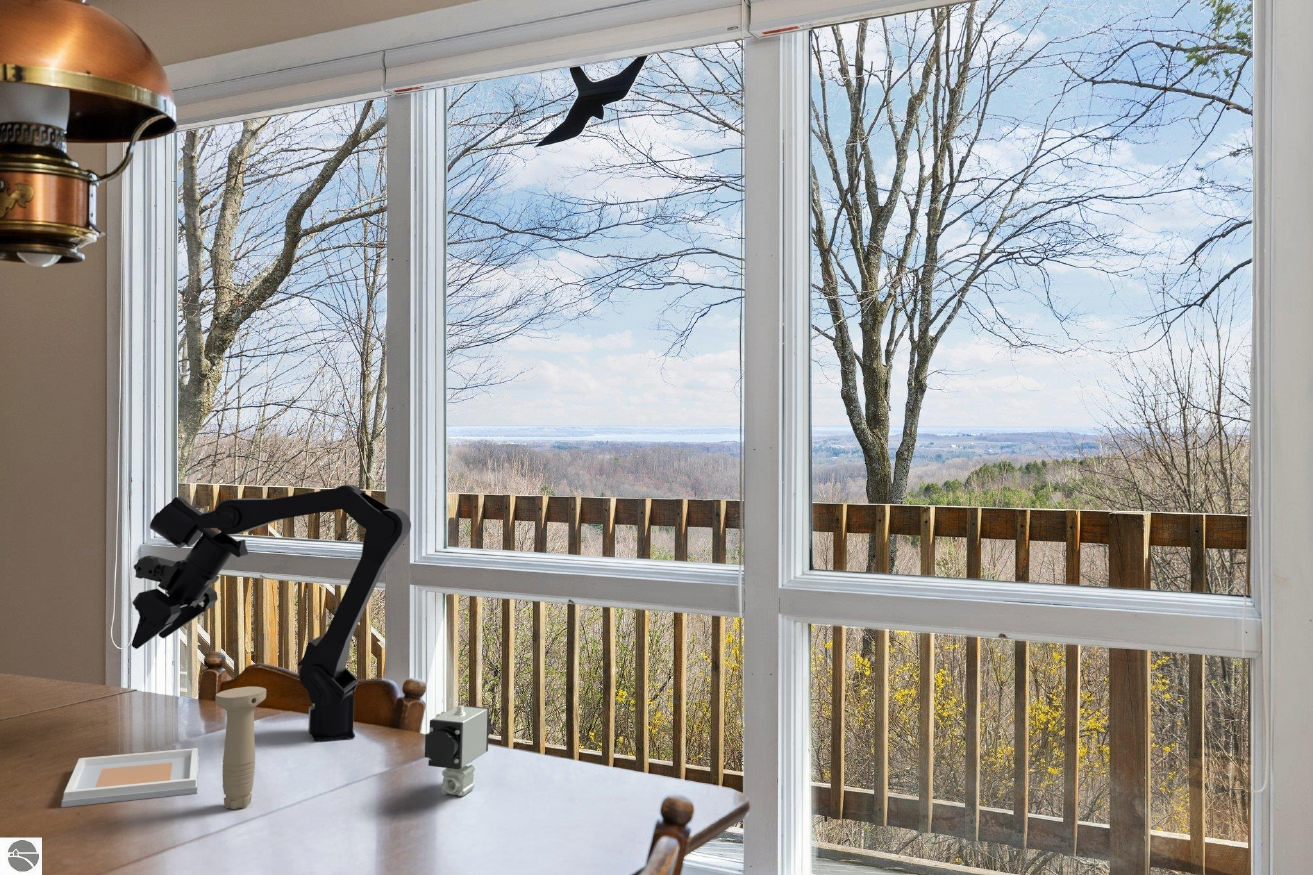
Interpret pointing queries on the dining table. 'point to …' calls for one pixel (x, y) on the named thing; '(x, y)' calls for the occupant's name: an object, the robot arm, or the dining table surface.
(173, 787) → the white shallow tray
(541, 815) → the dining table surface
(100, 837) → the dining table surface
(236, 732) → the handle
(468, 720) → the pneumatic valve
